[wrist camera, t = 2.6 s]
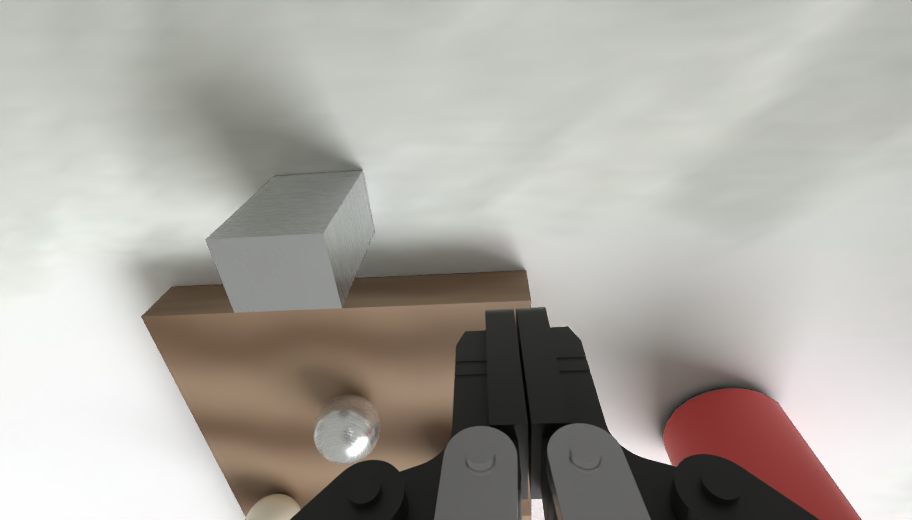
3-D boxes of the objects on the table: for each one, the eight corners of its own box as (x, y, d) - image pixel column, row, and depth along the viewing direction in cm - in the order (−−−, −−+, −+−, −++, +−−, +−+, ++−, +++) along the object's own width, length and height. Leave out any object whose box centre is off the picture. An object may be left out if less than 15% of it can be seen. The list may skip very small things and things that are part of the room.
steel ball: (380, 379, 23) (367, 432, 20) (390, 423, 25) (378, 478, 22) (317, 381, 23) (295, 434, 21) (331, 425, 25) (312, 479, 22)
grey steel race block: (362, 170, 20) (323, 233, 15) (374, 231, 22) (341, 308, 17) (274, 176, 21) (205, 239, 16) (291, 236, 22) (234, 312, 17)
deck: (171, 286, 24) (141, 316, 22) (525, 270, 23) (530, 300, 20) (298, 561, 37) (287, 596, 35) (528, 561, 36) (531, 598, 33)
